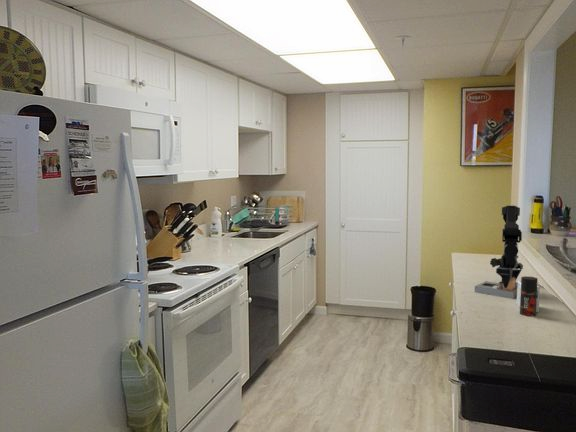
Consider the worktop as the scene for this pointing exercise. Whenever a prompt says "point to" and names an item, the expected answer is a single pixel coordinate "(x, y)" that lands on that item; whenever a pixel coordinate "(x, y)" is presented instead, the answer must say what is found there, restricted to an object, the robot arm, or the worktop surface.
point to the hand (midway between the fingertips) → (509, 286)
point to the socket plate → (495, 289)
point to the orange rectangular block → (511, 284)
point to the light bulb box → (520, 295)
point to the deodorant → (528, 296)
